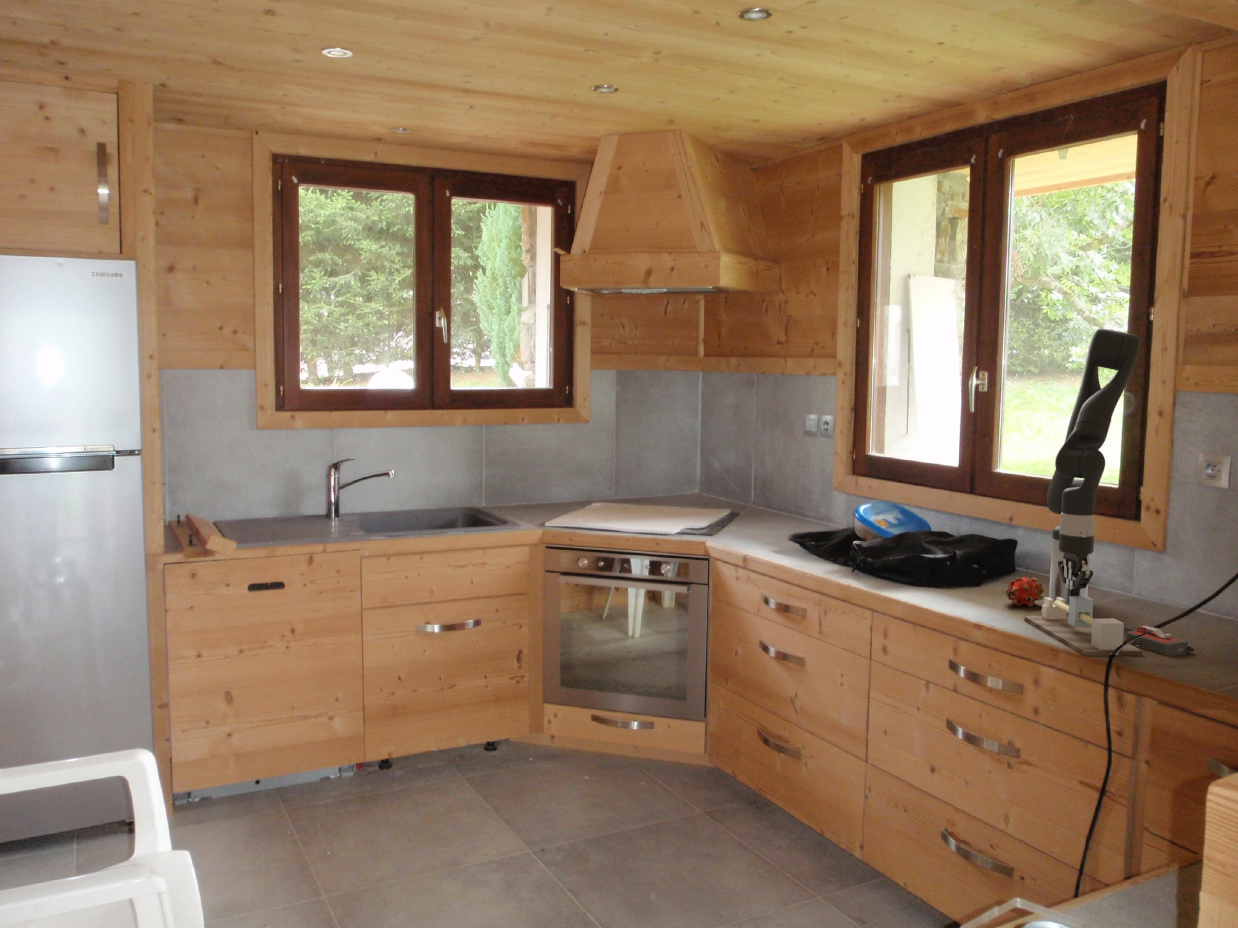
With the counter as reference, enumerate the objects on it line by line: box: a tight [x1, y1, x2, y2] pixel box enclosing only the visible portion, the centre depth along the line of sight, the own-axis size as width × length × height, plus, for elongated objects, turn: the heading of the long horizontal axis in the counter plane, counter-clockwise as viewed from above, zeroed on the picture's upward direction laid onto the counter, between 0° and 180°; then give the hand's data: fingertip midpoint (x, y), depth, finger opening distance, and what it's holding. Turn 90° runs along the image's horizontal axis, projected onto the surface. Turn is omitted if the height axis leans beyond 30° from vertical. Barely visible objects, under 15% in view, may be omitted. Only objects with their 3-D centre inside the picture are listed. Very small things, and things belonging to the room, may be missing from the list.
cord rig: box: [1041, 596, 1125, 650], centre depth 233 cm, size 28×5×6 cm, turn 2°
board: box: [1023, 615, 1144, 657], centre depth 233 cm, size 30×13×1 cm, turn 2°
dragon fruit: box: [1005, 574, 1045, 608], centre depth 263 cm, size 8×8×12 cm
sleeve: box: [1068, 595, 1094, 626], centre depth 233 cm, size 3×4×6 cm
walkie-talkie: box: [1124, 625, 1195, 657], centre depth 228 cm, size 9×4×20 cm
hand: (1073, 604), depth 236 cm, fingers closed
